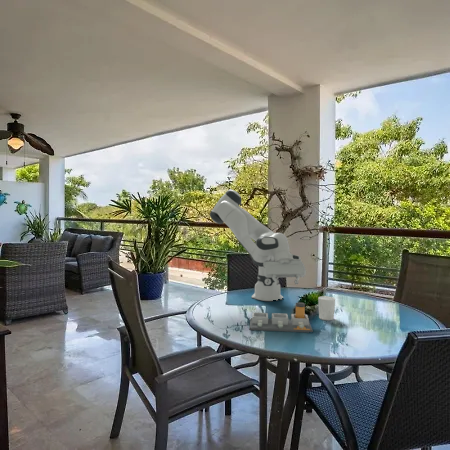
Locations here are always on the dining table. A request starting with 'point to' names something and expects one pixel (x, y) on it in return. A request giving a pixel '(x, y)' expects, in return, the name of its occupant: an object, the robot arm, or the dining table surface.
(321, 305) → the white cup
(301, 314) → the orange capped bottle
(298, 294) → the dining table surface
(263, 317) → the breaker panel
